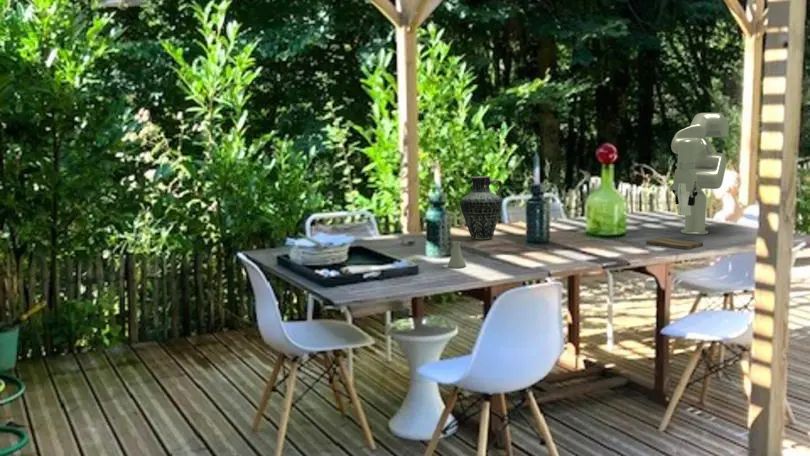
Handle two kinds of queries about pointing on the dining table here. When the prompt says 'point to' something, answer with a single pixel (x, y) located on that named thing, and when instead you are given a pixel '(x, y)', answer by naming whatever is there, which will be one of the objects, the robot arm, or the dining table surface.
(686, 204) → the beer glass
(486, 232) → the jug
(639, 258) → the dining table surface
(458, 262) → the flask
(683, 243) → the serving board
